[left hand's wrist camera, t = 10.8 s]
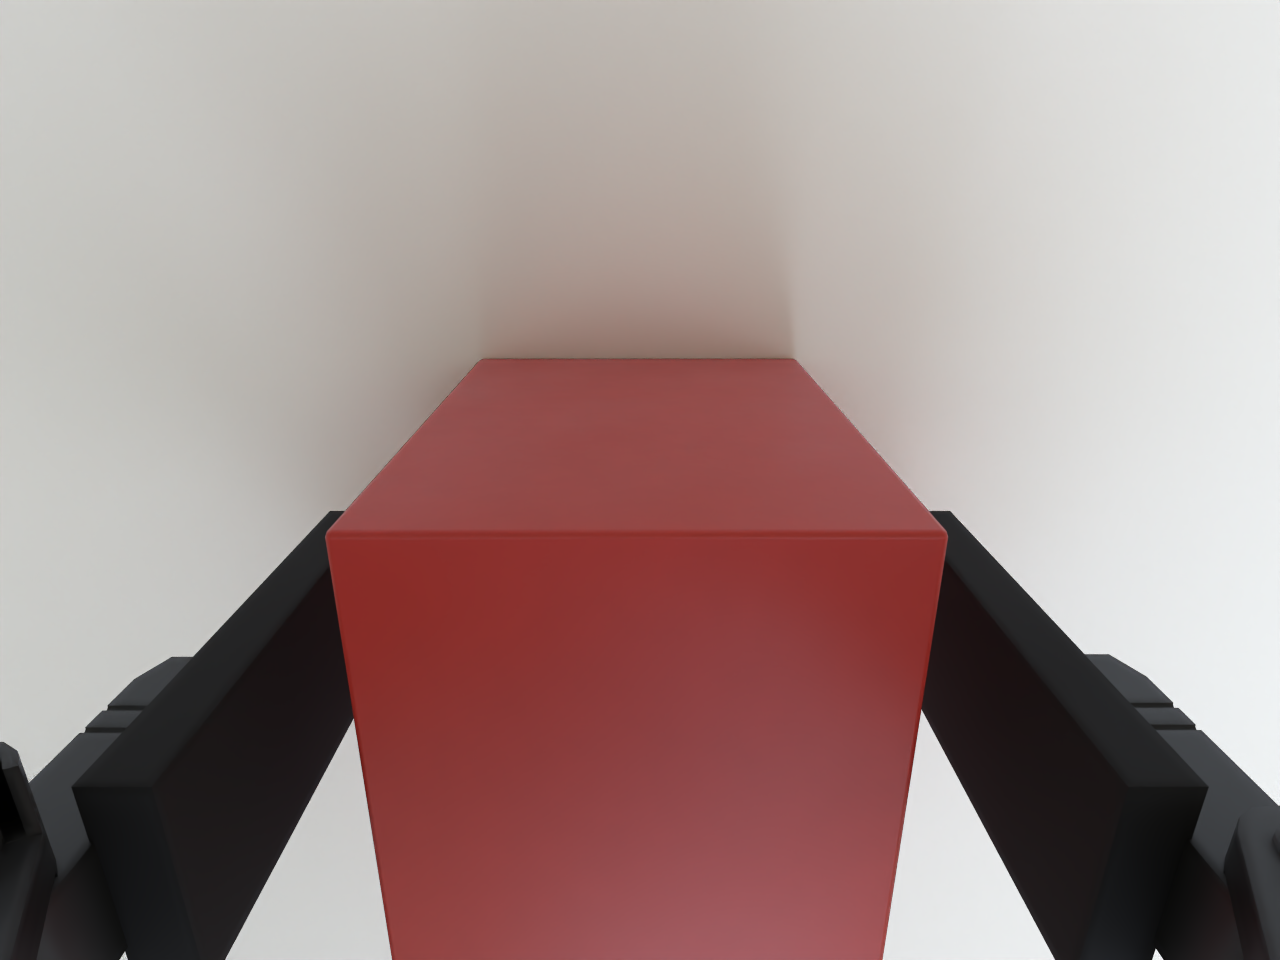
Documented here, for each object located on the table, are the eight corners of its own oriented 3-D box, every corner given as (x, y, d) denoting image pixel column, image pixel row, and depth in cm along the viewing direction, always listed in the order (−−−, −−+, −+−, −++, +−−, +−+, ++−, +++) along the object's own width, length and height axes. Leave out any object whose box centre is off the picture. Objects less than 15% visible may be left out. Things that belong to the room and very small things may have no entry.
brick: (775, 656, 18) (877, 1011, 10) (501, 656, 18) (398, 1012, 10) (796, 358, 15) (952, 532, 8) (479, 358, 15) (320, 531, 8)
